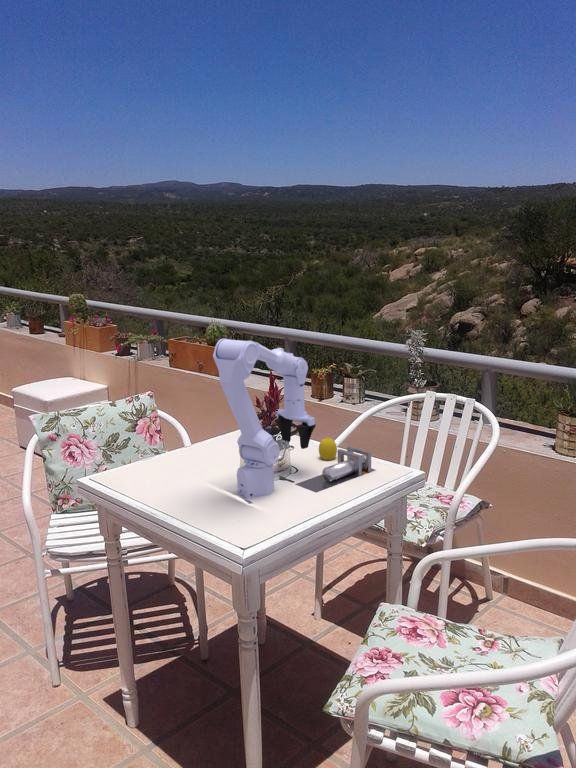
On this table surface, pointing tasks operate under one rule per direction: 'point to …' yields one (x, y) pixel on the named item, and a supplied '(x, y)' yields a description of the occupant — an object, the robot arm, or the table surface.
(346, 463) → the tube
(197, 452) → the table surface
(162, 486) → the table surface
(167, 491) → the table surface
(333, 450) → the lemon
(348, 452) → the grey holder stand
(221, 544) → the table surface
